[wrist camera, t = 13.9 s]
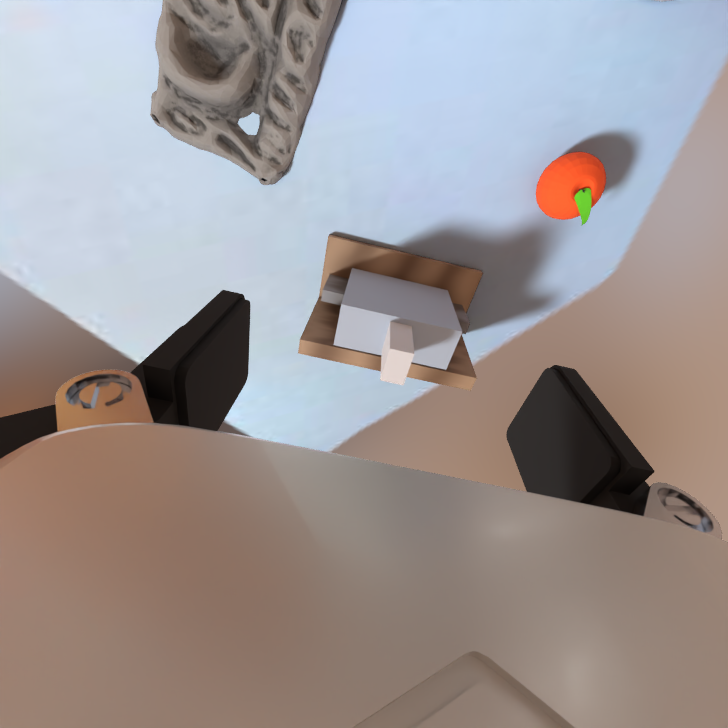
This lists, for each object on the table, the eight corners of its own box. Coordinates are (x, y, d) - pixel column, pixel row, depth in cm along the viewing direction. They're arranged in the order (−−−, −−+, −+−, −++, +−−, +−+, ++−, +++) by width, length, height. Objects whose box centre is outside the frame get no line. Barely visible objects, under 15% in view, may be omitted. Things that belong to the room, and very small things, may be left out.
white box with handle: (447, 290, 50) (472, 360, 34) (435, 323, 53) (453, 401, 37) (352, 267, 49) (333, 329, 33) (345, 302, 52) (325, 374, 36)
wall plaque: (165, -183, 30) (137, -222, 27) (362, -45, 34) (359, -63, 30) (138, 117, 42) (117, 116, 39) (284, 194, 46) (276, 199, 43)
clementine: (594, 203, 44) (626, 214, 38) (537, 231, 46) (559, 245, 40) (581, 137, 40) (615, 138, 34) (520, 170, 42) (542, 176, 36)
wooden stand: (481, 270, 49) (509, 313, 38) (453, 336, 55) (470, 390, 44) (329, 234, 48) (309, 266, 36) (318, 305, 54) (298, 353, 42)
